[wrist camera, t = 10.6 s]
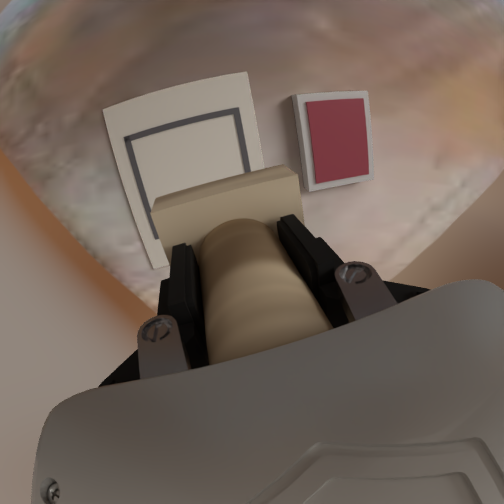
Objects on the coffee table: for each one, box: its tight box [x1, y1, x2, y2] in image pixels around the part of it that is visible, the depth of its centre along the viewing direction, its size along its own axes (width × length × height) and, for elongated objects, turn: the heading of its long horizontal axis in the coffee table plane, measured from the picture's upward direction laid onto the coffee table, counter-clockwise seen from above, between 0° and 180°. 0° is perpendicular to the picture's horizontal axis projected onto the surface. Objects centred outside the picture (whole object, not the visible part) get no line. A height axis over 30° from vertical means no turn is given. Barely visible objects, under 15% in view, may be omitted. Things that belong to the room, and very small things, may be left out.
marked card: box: [103, 72, 264, 269], centre depth 27 cm, size 18×14×1 cm
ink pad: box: [292, 91, 374, 192], centre depth 27 cm, size 10×8×2 cm
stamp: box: [150, 165, 334, 365], centre depth 10 cm, size 6×6×10 cm
